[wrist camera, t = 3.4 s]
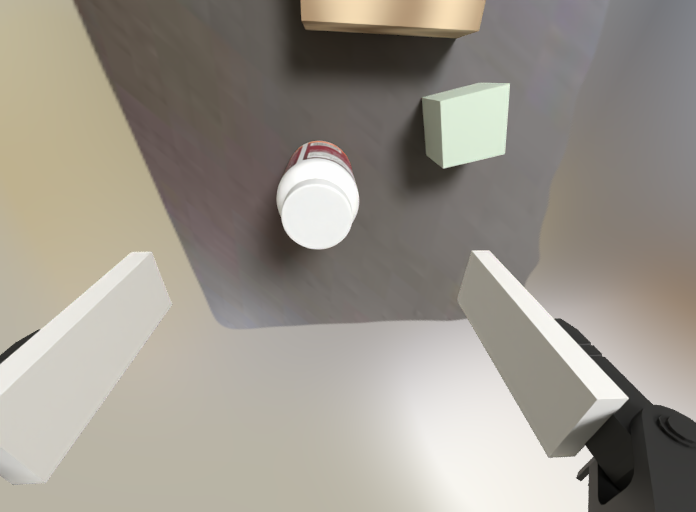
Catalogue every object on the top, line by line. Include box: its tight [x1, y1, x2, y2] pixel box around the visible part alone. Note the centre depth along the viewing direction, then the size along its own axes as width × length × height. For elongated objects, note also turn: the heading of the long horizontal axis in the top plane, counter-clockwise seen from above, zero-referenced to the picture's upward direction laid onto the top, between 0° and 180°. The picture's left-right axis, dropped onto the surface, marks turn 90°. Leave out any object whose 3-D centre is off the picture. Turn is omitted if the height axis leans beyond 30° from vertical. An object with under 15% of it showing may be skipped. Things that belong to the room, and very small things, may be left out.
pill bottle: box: [276, 141, 359, 249], centre depth 23 cm, size 6×6×11 cm
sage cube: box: [422, 83, 510, 169], centre depth 24 cm, size 5×5×5 cm
